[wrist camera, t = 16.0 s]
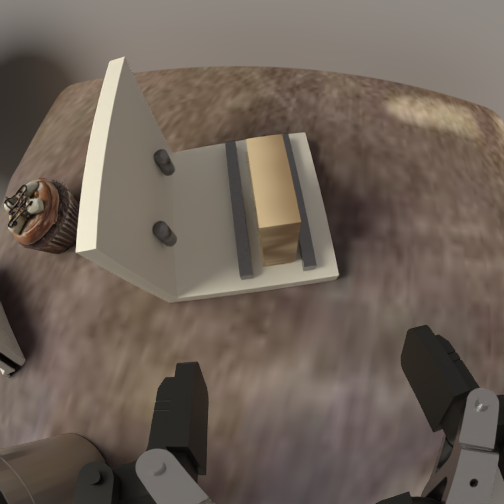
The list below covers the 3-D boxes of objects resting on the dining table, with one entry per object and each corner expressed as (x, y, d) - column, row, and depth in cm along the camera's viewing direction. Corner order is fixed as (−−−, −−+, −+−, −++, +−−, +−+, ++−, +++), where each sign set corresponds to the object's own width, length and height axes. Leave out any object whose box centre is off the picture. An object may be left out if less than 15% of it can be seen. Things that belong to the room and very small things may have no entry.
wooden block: (265, 265, 32) (259, 228, 23) (253, 188, 35) (244, 130, 25) (294, 261, 32) (301, 222, 23) (280, 184, 35) (280, 126, 25)
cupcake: (100, 222, 38) (57, 185, 28) (53, 274, 36) (3, 251, 27) (70, 183, 40) (32, 147, 31) (28, 231, 39) (-15, 203, 29)
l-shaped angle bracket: (169, 302, 34) (75, 252, 17) (165, 163, 40) (109, 61, 23) (335, 279, 33) (388, 205, 16) (304, 142, 39) (312, 24, 22)
